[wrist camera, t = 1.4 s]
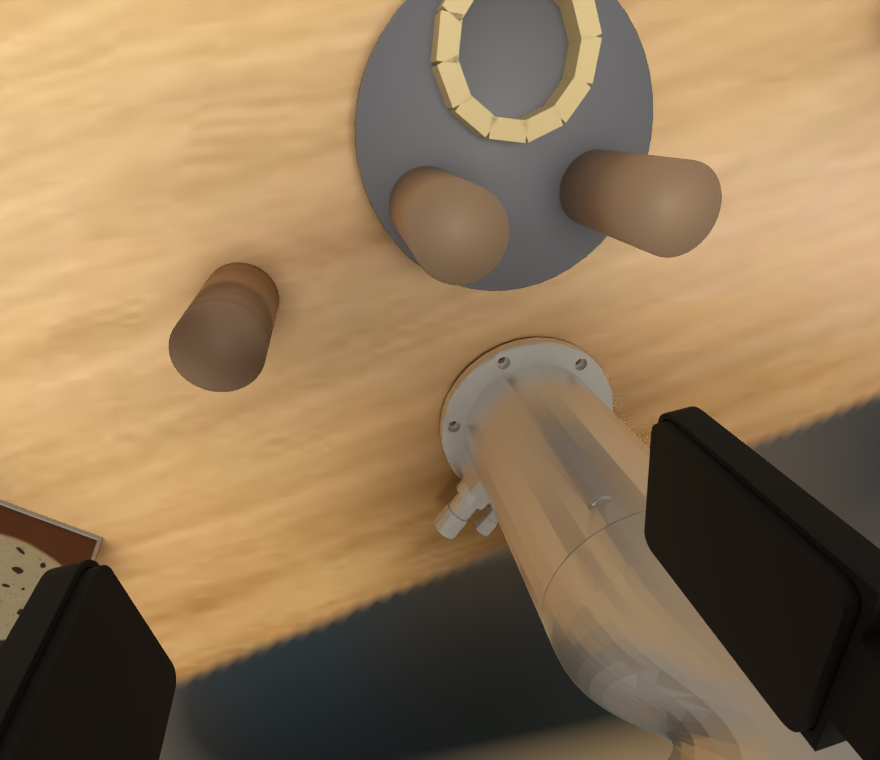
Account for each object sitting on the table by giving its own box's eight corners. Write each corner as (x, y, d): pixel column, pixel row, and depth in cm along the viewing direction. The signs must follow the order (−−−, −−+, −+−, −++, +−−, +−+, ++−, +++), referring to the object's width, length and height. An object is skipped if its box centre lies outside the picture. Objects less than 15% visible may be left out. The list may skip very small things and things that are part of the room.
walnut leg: (257, 341, 31) (239, 405, 24) (192, 307, 30) (152, 365, 23) (291, 287, 30) (282, 337, 23) (225, 248, 29) (194, 290, 22)
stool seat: (516, 327, 34) (582, 398, 26) (297, 177, 28) (285, 205, 19) (686, 106, 30) (835, 102, 22) (476, -130, 24) (566, -273, 15)
